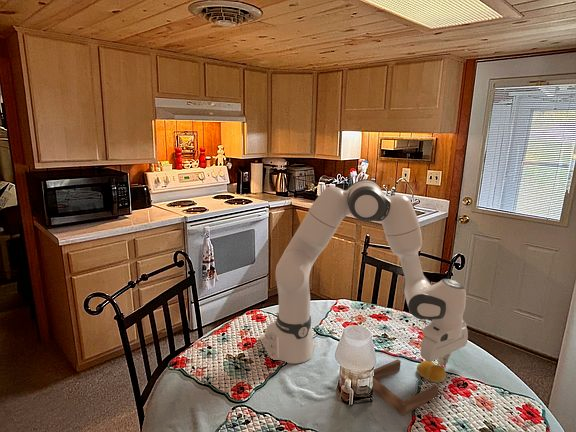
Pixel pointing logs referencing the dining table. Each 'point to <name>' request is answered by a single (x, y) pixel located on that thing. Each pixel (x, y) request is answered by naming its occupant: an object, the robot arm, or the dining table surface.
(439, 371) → the bread roll
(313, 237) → the robot arm
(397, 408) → the tray
